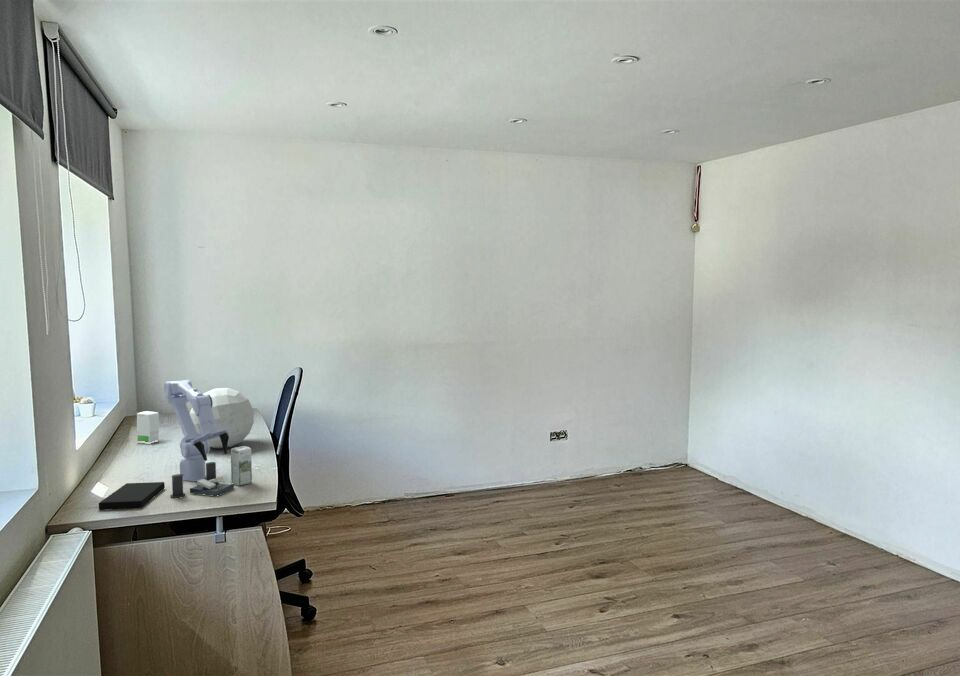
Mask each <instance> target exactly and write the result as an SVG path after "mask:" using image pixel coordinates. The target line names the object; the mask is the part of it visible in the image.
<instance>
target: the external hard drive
mask: <svg viewBox="0 0 960 676" xmlns="http://www.w3.org/2000/svg"><path fill="white" fill-rule="evenodd" d="M165 486H166V485H165V481H154V482H151V481H150V482H133V483H132V482H127V483H125V484H123V485H122V486H120V487H119V488H118V489H117V490H115V491H113V492H112V493H110V494H109V495H108V496H107V497H105V498H104V499H102V500H101V501H100V502H98V510H99V509H100V510H99V511H102V510H101V509H112V510H131V509H132V510H133V509H136V510H137V509H143V508H144V507H145V506H147V504H149V503H150V502H151V501H152V500H153V499H154V498H155V497H157V496H158V495H159V494H160V493H161V492H162V491H164V490H165V489H164V488H166V487H165ZM163 489H164V490H163ZM161 490H162V491H161ZM160 491H161V492H160ZM159 492H160V493H159ZM158 493H159V494H158ZM157 494H158V495H157ZM156 495H157V496H156ZM154 496H155V497H154ZM153 497H154V498H153ZM152 498H153V499H152ZM151 499H152V500H151ZM150 500H151V501H150ZM149 501H150V502H149Z"/></svg>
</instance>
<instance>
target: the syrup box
mask: <svg viewBox="0 0 960 676" xmlns="http://www.w3.org/2000/svg"><path fill="white" fill-rule="evenodd" d="M230 460H231V462H230V466H231V467H230V469H231V475H230V476H231V484H232V483H233V484H234V486H237V487H241V486H245V485H248V483H249V484H252V481H253V480H252V478H253V477H252V476H253V475H252V473H253V472H252V471H253V470H252V448H251V447H249V446H246V445H242V446H237V447H233V448H231V449H230ZM244 484H245V485H244ZM240 485H241V486H240Z"/></svg>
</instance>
